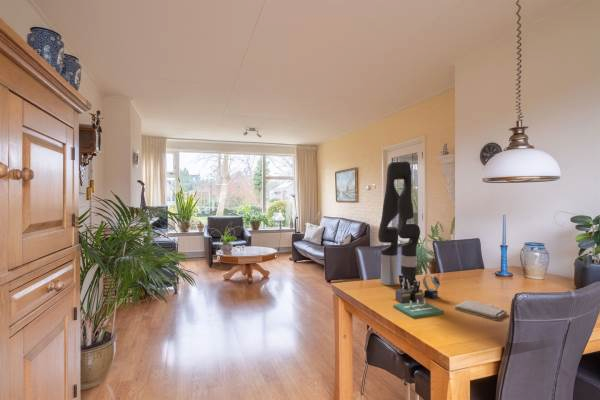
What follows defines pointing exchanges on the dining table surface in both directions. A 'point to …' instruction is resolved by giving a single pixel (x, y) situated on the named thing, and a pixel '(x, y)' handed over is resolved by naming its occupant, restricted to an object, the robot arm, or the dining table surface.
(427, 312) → the board
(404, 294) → the grey rectangular block
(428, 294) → the watch
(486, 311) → the washcloth
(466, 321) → the dining table surface
